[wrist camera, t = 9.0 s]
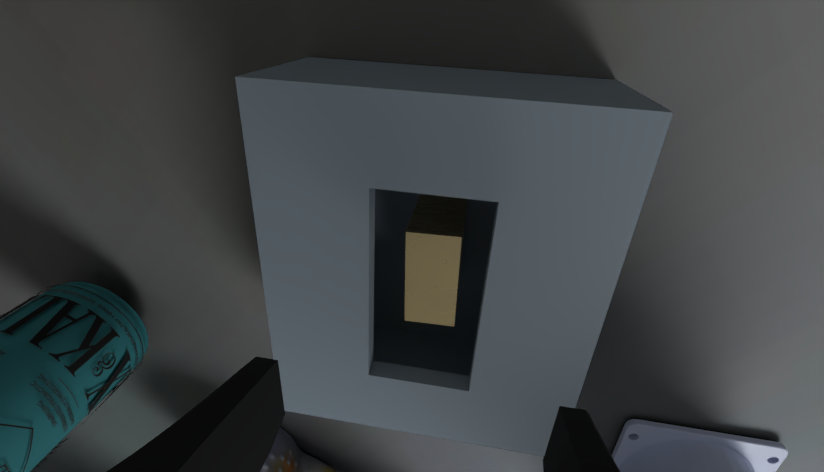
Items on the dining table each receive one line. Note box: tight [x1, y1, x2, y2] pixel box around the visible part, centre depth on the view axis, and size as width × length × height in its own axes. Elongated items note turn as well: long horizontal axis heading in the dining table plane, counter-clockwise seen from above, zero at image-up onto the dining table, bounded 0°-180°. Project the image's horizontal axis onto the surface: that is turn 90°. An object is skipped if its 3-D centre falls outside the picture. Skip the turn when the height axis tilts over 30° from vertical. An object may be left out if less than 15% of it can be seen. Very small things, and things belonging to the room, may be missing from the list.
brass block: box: [405, 194, 467, 326], centre depth 18 cm, size 4×2×4 cm, turn 179°
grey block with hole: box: [235, 57, 674, 457], centre depth 18 cm, size 14×12×6 cm
